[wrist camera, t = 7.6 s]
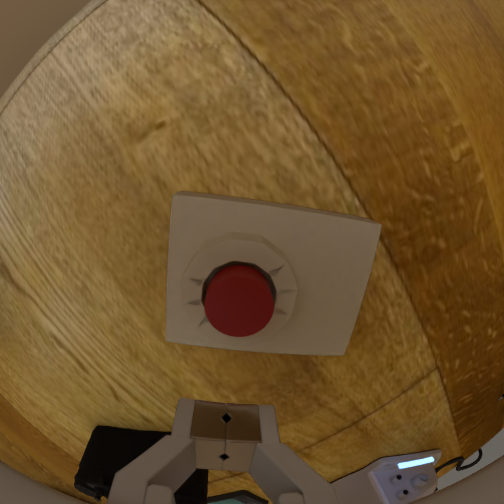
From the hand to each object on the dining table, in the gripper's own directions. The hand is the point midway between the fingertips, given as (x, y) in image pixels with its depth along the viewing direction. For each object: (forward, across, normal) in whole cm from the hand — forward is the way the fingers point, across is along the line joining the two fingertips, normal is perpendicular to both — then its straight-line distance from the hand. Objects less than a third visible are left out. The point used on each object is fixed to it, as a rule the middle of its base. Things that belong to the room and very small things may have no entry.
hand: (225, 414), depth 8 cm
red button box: (+12, -2, 0) cm, 12 cm away
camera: (+12, +7, +23) cm, 27 cm away
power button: (+9, -1, 0) cm, 9 cm away
